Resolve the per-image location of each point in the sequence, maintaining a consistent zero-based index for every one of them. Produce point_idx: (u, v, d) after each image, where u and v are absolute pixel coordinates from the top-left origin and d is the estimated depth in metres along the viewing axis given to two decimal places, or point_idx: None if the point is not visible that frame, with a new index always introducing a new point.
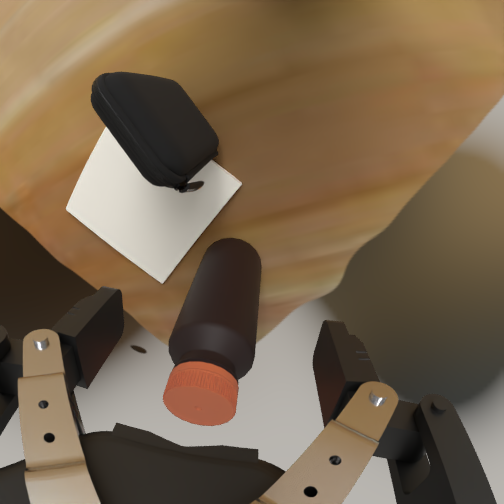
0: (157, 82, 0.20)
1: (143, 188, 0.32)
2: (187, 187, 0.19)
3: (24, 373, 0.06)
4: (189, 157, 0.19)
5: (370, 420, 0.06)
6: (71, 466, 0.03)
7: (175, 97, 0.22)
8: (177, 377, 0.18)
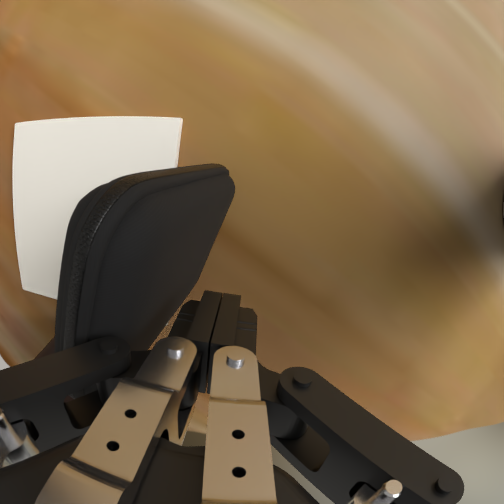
0: (204, 220, 0.13)
1: None
2: None
3: (138, 373, 0.07)
4: None
5: (241, 385, 0.07)
6: (71, 466, 0.03)
7: (202, 241, 0.15)
8: None
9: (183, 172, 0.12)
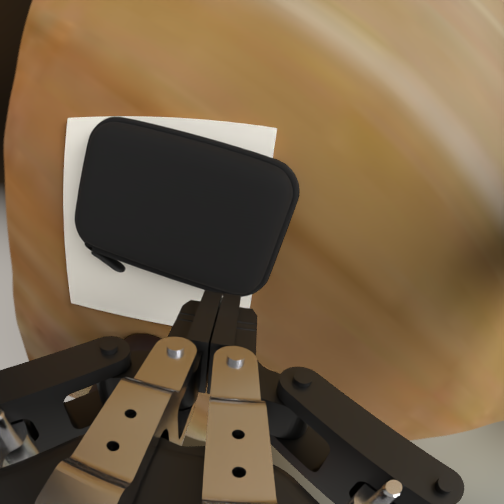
0: (170, 160, 0.17)
1: None
2: (91, 252, 0.20)
3: (138, 373, 0.07)
4: (91, 240, 0.19)
5: (242, 385, 0.07)
6: (71, 466, 0.03)
7: (190, 194, 0.18)
8: None
9: (167, 127, 0.18)
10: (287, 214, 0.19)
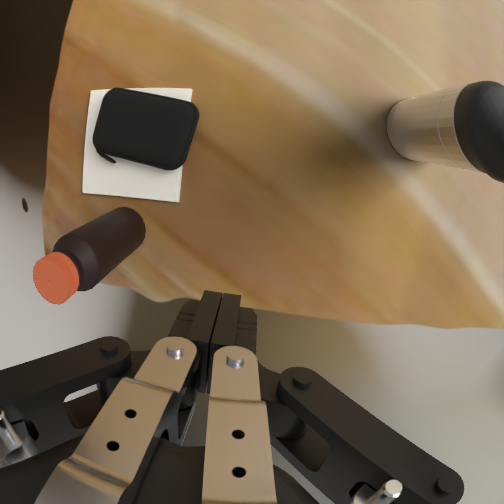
0: (139, 103, 0.35)
1: None
2: (99, 154, 0.38)
3: (138, 373, 0.07)
4: (100, 145, 0.36)
5: (241, 385, 0.07)
6: (71, 466, 0.03)
7: (148, 117, 0.35)
8: (57, 258, 0.25)
9: (140, 91, 0.35)
10: (192, 125, 0.36)
